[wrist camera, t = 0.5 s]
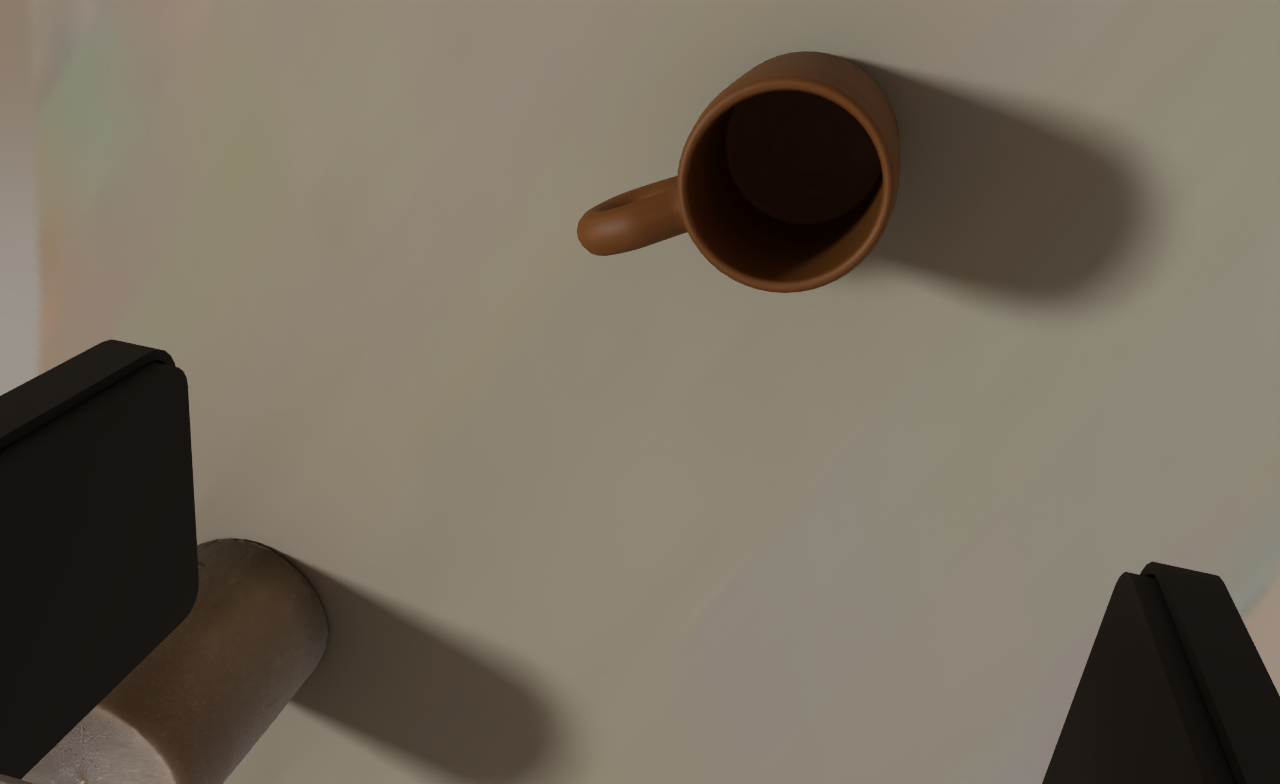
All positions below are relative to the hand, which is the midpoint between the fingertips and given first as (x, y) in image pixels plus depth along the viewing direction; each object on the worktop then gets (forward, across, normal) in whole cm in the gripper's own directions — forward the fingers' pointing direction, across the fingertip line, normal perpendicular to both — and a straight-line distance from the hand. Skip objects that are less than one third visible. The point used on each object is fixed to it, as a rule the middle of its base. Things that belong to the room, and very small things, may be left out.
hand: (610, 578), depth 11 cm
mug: (+37, +2, +4) cm, 38 cm away
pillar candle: (+37, +26, +34) cm, 56 cm away
